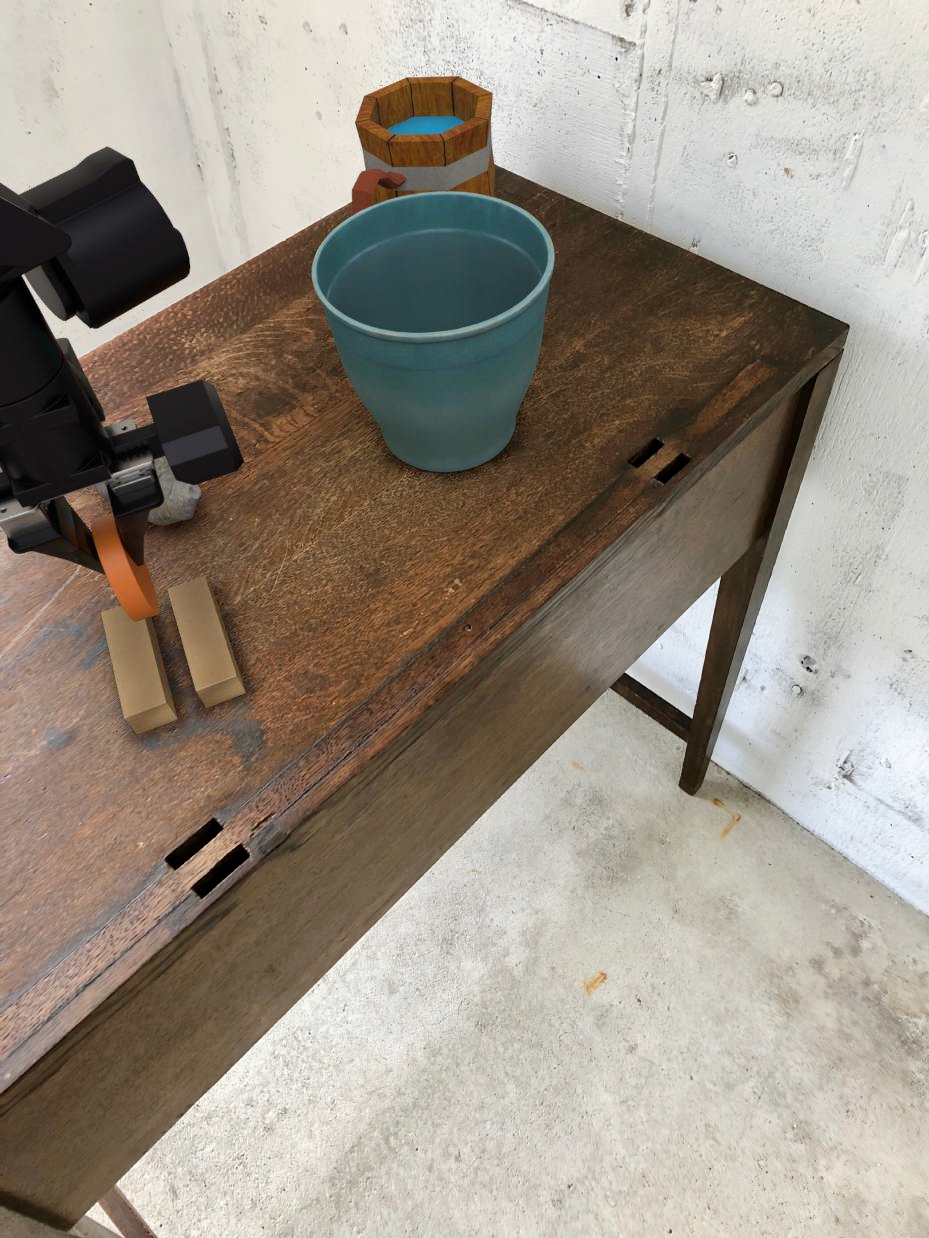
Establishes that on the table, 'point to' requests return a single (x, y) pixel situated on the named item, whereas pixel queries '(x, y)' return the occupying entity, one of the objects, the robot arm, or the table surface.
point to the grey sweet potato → (168, 496)
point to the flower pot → (438, 319)
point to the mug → (424, 140)
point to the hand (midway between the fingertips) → (126, 565)
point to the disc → (124, 571)
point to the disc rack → (143, 664)
